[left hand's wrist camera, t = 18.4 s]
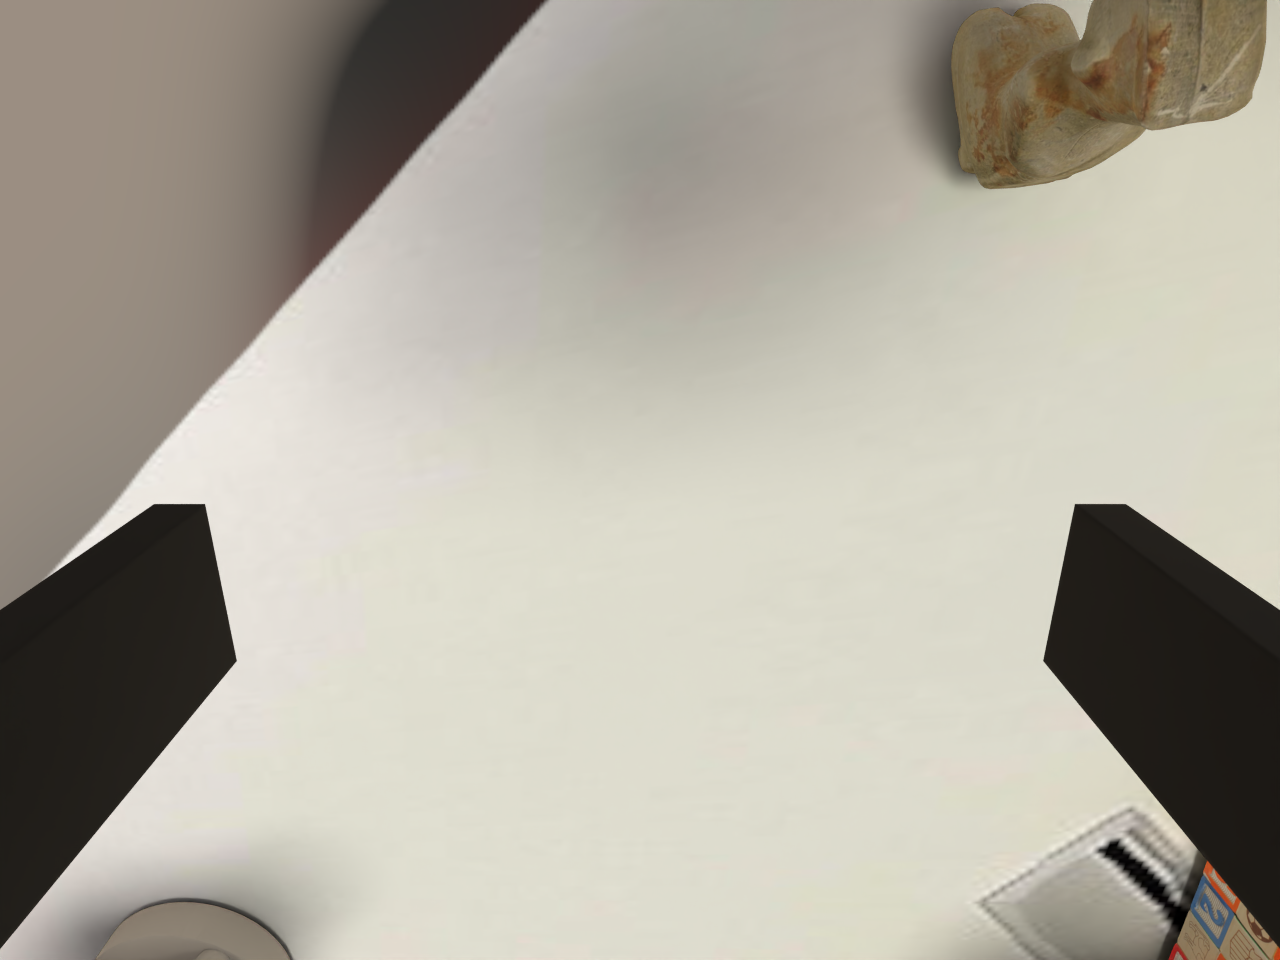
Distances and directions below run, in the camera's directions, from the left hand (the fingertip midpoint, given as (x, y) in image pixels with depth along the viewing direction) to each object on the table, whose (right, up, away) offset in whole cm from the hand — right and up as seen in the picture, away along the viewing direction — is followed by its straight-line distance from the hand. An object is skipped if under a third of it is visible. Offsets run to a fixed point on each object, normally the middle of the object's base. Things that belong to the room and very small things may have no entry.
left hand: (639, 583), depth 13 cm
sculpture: (+16, +19, +25) cm, 35 cm away
